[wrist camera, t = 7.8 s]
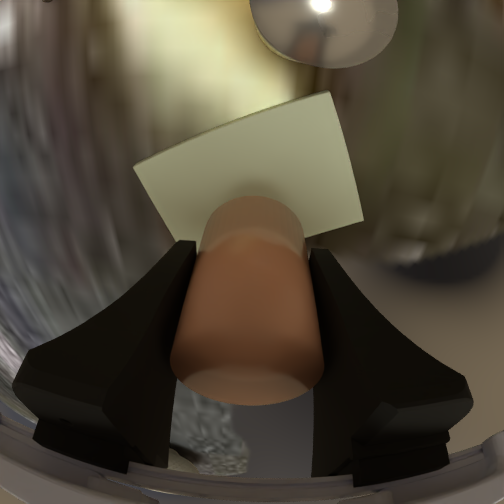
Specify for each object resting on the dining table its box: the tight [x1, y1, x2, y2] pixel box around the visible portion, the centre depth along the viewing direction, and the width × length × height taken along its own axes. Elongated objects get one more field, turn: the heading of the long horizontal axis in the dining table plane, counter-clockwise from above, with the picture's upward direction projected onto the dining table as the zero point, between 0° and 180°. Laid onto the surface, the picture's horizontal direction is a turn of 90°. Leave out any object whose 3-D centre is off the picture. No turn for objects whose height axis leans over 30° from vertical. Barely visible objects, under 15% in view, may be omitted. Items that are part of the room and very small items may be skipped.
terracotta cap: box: [170, 196, 324, 405], centre depth 10 cm, size 4×4×6 cm
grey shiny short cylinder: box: [250, 0, 398, 68], centre depth 8 cm, size 4×4×6 cm
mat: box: [133, 90, 364, 253], centre depth 15 cm, size 10×7×1 cm
